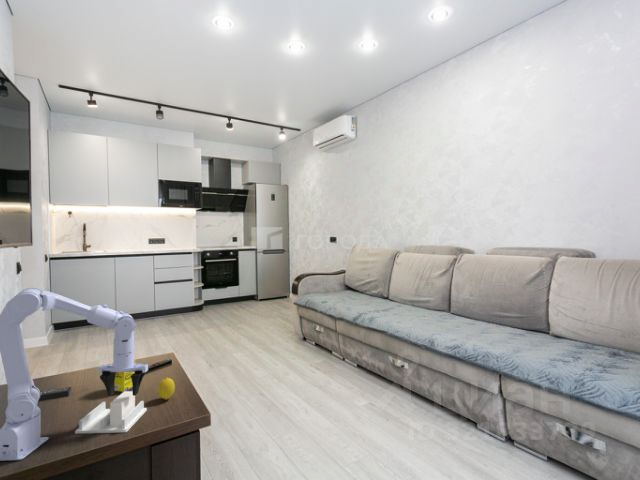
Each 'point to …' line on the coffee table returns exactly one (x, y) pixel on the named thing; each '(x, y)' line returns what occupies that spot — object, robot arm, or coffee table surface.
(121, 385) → the supplement box
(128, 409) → the cream rectangular prism
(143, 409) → the dish rack
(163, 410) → the coffee table surface
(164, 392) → the lemon
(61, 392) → the multiport hub
